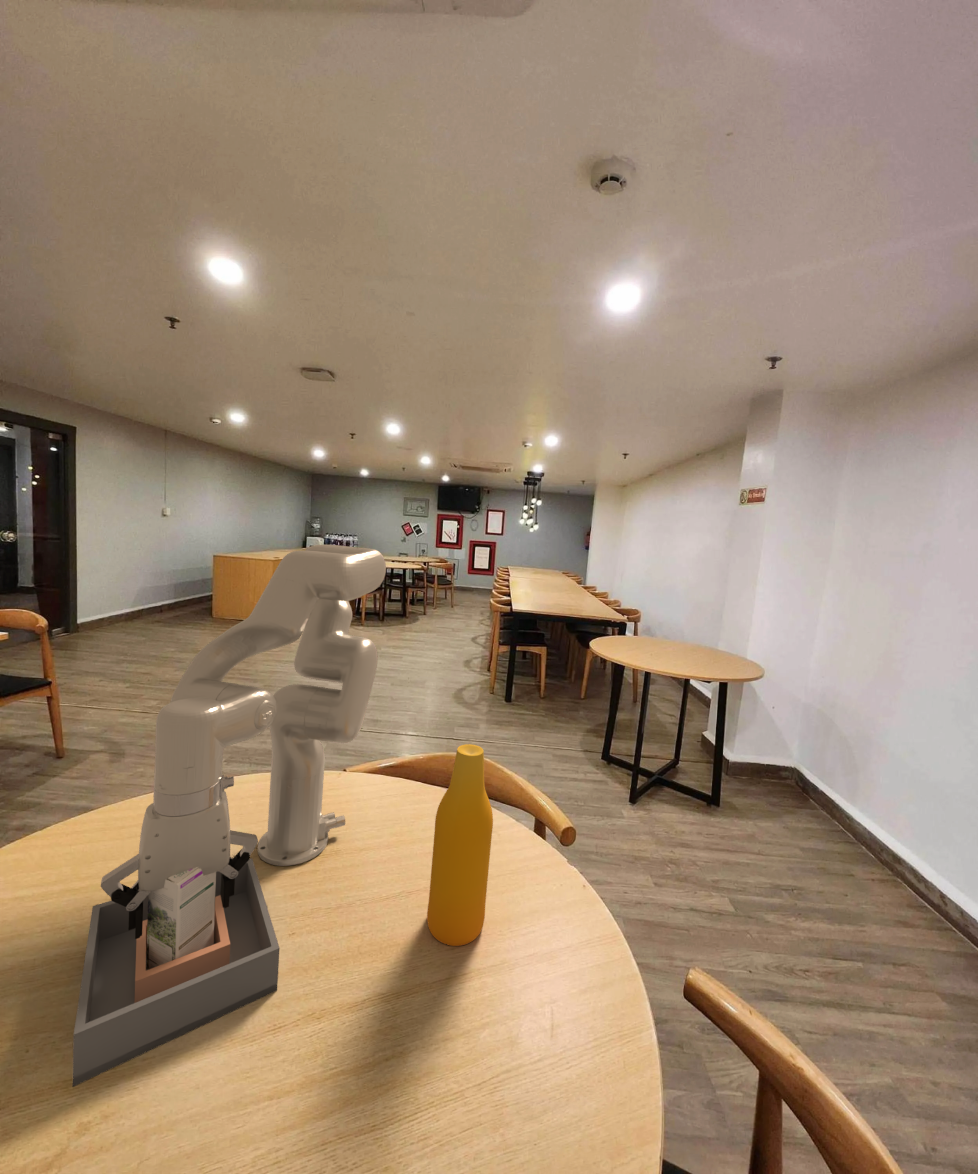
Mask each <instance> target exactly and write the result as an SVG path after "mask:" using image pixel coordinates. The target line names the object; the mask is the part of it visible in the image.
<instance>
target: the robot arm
mask: <svg viewBox="0 0 978 1174" xmlns="http://www.w3.org/2000/svg"><path fill="white" fill-rule="evenodd" d="M386 572H387V564H386V560H385V557H384V556H383V554H382V553H381V552H380V551H379V550H377V549H374V548H369V547H366V548H365V547H355V546H348V545H347V546H346V545H345V546H344V545H337V544H315V545H314V544H313V545H311V546H309V547H307V548H306V549H305V550H304V549H303V550H294V551H293V550H292V551H291V552H289V553H287V554H285V555H284V556H283V558H282V559H281V560H280V562H279V564H278V566H277V567H276V569H275V570H274V572H273V574H272V576H271V578H270V579H269V581H268V583H267V585H266V586H265V588H264V590H263V592H262V594H261V596H260V597H259V599H258V601H257V603H256V604H255V606H254V607H253V610H252V612H251V613H250V615H249V616H248V617H247V618H245V619H244V620H241V621H240V622H239V623H237V624H235V625H233V626H232V627H230V628H228V629H227V630H226V631H223V632H222V633H221V634H220V635H218V636H217V637H215V638H214V639H212V640H211V641H210V642H209V643H207V644H205V646H204V647H202V648H201V649H200V650H199V652H198V653H197V654H195V656H194V657H193V659H192V660H191V661H190V664H189V665H188V666H187V668H186V670H185V672H184V673H183V675H182V676H181V677H180V679H179V682H177V685H176V687H175V689H174V690H173V693H172V695H171V698H170V702H169V703H167V704H165V705H164V706H162V708H161V709H159V712H158V713H157V715H156V720H155V722H156V723H155V744H154V745H155V746H154V748H155V751H154V753H155V754H154V756H155V757H154V772H153V773H154V774H153V775H154V777H153V802H152V803H150V804H149V805H148V806H147V807H146V809H145V812H144V815H143V820H142V823H141V828H140V829H141V831H140V838H139V839H140V840H139V847H138V853H137V854H136V855H134V856H133V857H131V858H129V859H128V860H127V861H125V862H123V863H121V864H120V865H119V866H117V867H116V868H114V869H113V870H111V871H110V872H109V871H108V873H106V874H105V875H103V876H102V877H101V881H100V887H101V889H102V890H103V891H104V893H106V895H107V896H109V897H110V901H113V902H115V903H118V904H120V905H122V906H124V907H126V910H127V911H129V928H128V931H129V930H132V929H135V939H138V938H140V936H142V926H143V900H144V899H145V898H146V896H147V895H148V894H149V893H150V892H151V891H154V890H158V889H162V888H164V884H165V879H168V878H169V877H171V876H173V875H176V874H179V873H181V872H184V871H187V870H190V869H193V868H196V867H199V869H201V870H202V872H203V876H204V875H208V874H211V873H214V872H217V871H220V872H221V892H220V895H221V901H222V906H223V907H224V908H227V907H229V896H232V895H234V887H235V878H236V877H237V875H238V871H239V870H240V869H241V868H242V867H243V866H244V865H245V864H246V863H247V861H248V860H249V859H251V854H252V853H253V852H254V850H255V849H256V847H257V855H258V856H259V858H260V860H262V861H263V862H266V863H267V864H269V865H274V866H280V867H283V866H286V867H289V866H296V865H299V864H302V863H306V862H308V861H310V860H312V859H314V858H315V857H317V856H318V855H319V854H320V853H322V852H323V851H324V850H325V848H326V847H327V845H328V843H329V832H330V830H333V829H337V828H340V827H343V826H346V817H345V816H344V814H343V815H339V816H337V817H336V813H335V812H330V813H327V814H323V813H322V810H323V809H322V808H323V793H324V778H325V765H326V757H325V756H326V755H325V750H324V746H323V743H322V742H327V743H336V744H348V743H351V742H353V741H354V740H355V739H356V738H357V737H358V736H359V734H360V732H361V729H362V727H363V725H364V724H363V723H364V720H365V716H366V713H367V708H368V706H369V700H370V697H371V693H372V689H373V685H374V682H375V677H376V673H377V668H378V661H379V659H378V649H377V646H376V644H375V643H374V642H373V640H372V639H369V638H367V637H364V636H358V635H351V634H349V631H350V628H351V622H352V619H353V611H352V610H353V609H352V606H351V605H350V601H353V600H356V599H359V598H361V597H363V596H366V595H367V594H369V593H372V592H374V591H375V590H376V589H378V588H379V587H380V586H381V585H382V583H383V581H384V579H385V577H386V574H387V573H386ZM299 639H300V641H299V643H298V646H297V649H296V653H295V657H294V661H293V662H294V663H293V664H294V670H295V673H297V674H298V675H299V676H301V677H303V678H306V679H311V680H316V681H317V680H318V681H322V682H323V681H324V682H329V683H330V682H331V683H337V684H338V683H339V684H342V685H341V686H342V687H341V689H337V688H330V687H324V686H318V685H310V684H302V683H301V684H299V683H297V684H288V685H284V686H283V687H281V688H279V689H278V690H277V691H275V693H271V692H270V691H268V690H267V689H265V688H263V687H258V686H252V685H246V684H239V683H234V682H226V681H223V680H224V679H225V677H226V676H227V675H228V674H229V672H230V671H231V670H233V668H234V667H236V666H237V665H238V664H240V663H241V662H244V661H245V660H246V659H249V658H251V657H253V656H256V655H258V654H261V653H262V654H263V653H265V652H269V651H273V650H276V649H278V648H282V647H285V646H287V645H290V644H293V643H295V642H296V641H298V640H299ZM268 728H269V732H270V741H271V765H270V782H269V783H270V784H269V802H268V819H267V831H266V832H265V833H264V834H263V835H261V837H260V838H259V839H258V836H257V835H256V834H255V833H249V832H248V833H247V832H242V831H236V830H231V822H230V821H231V820H230V813H229V812H230V811H229V800H228V795H227V792H226V791H225V790H227V789H228V788H230V787H234V785H235V777H234V776H232V775H231V776H227V775H226V776H225V775H224V774H223V765H224V764H223V763H224V751H225V748H227V747H229V746H232V745H235V744H239V743H242V742H245V741H248V740H251V739H254V738H256V737H258V736H260V735H261V734H263V733H264V732H265V731H267V730H268ZM231 845H235V846H242V848H241V849H240V850H239V851H238V852H237V853H236V854H235V855H234V856H233V857H232V856H231ZM136 871H137V881H135V883H133V885H132V886H131V887H129V886H127V885H126V884H123V883H121V881H122V880H124V879H125V878H127V877H129V876H130V875H131V874H133V873H135V872H136Z"/></svg>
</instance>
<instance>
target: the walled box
mask: <svg viewBox="0 0 978 1174" xmlns="http://www.w3.org/2000/svg"><path fill="white" fill-rule="evenodd" d="M220 892H221V872H220V871H217V872H216V888H215V916H214V945H211V946H209V947H206V948H203V949H201V950H198V951H196V952H193V953H191V954H188V955H185V956H183V957H180V958H178V959H175V960H172V961H170V962H167V963H165V964H162V965H159V966H157V967H154V968H152V969H149V970H148V969H147V967H146V965H147V920H148V895H147V896H146V898H145V899H144V900H143V926H142V936H140V938H138V939H135V929H132V930H129V931H128V928H129V911H127V910H126V907H124V906H122V905H120V904H118V903H115V902H113V901H111V900H109V901H106V902H102V903H98V904H95V905H92V909H91V915H90V923H89V927H88V928H89V929H88V930H89V931H88V935H87V936H88V937H87V942H86V949H85V956H84V964H83V970H82V976H81V982H80V989H79V994H78V1003H77V1009H76V1015H75V1021H74V1028H73V1029H74V1030H73V1039H72V1040H73V1042H72V1043H73V1046H72V1047H73V1048H72V1088H74V1087H76V1086H78V1085H80V1084H82V1083H85V1082H86V1081H89V1080H90V1079H92V1078H94V1077H97V1076H99V1075H101V1074H103V1073H105V1072H107V1071H109V1070H111V1069H113V1068H116V1067H118V1066H121V1065H122V1064H124V1063H127V1062H129V1061H130V1060H133V1059H135V1058H137V1057H139V1056H142V1055H144V1054H146V1053H148V1052H149V1051H152V1050H154V1049H157V1048H158V1047H161V1046H162V1045H165V1044H167V1043H169V1042H171V1041H173V1040H175V1039H177V1038H179V1037H182V1036H184V1035H186V1034H188V1033H190V1032H192V1031H195V1030H196V1029H199V1028H200V1027H203V1026H205V1025H208V1024H209V1023H212V1022H213V1021H215V1020H218V1019H220V1018H223V1016H226V1015H228V1014H230V1013H232V1012H235V1011H236V1010H238V1009H241V1008H243V1007H245V1006H247V1005H250V1004H251V1003H253V1002H255V1001H258V1000H260V999H261V998H264V997H267V996H269V995H271V994H273V993H274V992H277V991H278V983H279V982H278V981H279V965H280V964H279V963H280V949H281V948H280V946H279V942H278V939H277V935H276V931H275V928H274V926H273V922H272V919H271V914H270V912H269V910H268V905H267V903H266V900H265V899H266V898H265V895H264V893H263V888H262V886H261V883H260V880H259V876H258V873H257V869H256V866H255V863H254V860H253V858H252V857H250V859H249V860H248V861H247V863H246V864H245V865H244V866H243V867H242V868H241V869H240V870H239V871H238V875H237V877H236V878H235V887H234V895H232V896H229V907H227V908H224V907H223V906H222V901H221V895H220Z"/></svg>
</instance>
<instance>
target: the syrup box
mask: <svg viewBox="0 0 978 1174" xmlns="http://www.w3.org/2000/svg"><path fill="white" fill-rule="evenodd" d="M215 888H216V872H214V873H211V874H208V875H204V876H203V872H202V870H201V869H199V867H196V868H193V869H190V870H187V871H184V872H181V873H179V874H176V875H173V876H171V877H169V878H168V879H165V884H164V888H162V889H158V890H154V891H151V892H150V893H149V894H148V920H147V965H146V967H147V969H148V970H149V969H152V968H154V967H157V966H159V965H162V964H165V963H167V962H170V961H172V960H175V959H178V958H180V957H183V956H185V955H188V954H191V953H193V952H196V951H198V950H201V949H203V948H206V947H209V946H211V945H214V916H215Z"/></svg>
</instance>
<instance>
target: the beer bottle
mask: <svg viewBox="0 0 978 1174" xmlns="http://www.w3.org/2000/svg"><path fill="white" fill-rule="evenodd" d="M485 786H486V785H485V754H484V749H483V747H481V746H480V745H476V744H470V743H466V744H461V745H459V746H458V747H457V749H456V753H455V758H454V763H453V767H452V773H451V778H450V783H449V786H448V788H447V789H446V791H445V793H444V794H443V796H442V798H441V799H440V802H439V804H438V808H437V810H436V814H435V819H434V820H435V823H434V834H433V835H434V836H433V847H432V848H433V849H432V857H431V860H432V861H431V870H430V879H429V880H430V883H429V896H428V905H427V913H426V914H427V915H426V919H427V926H428V930H429V932H430V934H431V935H432V936H433V937H434V938H435V940H437V941H438V942H440V943H442V944H444V945H446V944H447V946H450V947H451V946H452V947H459V946H465V945H468V944H470V943H471V942H473V941H475V939H477V938H478V936H479V935H480V934H481V932H482V930H483V927H484V923H485V918H486V903H487V891H488V890H487V889H488V880H489V867H490V860H491V859H490V857H491V849H492V837H493V829H494V828H493V826H494V818H493V808H492V805H491V801H490V800H489V797H488V794H487V791H486V787H485Z"/></svg>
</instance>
